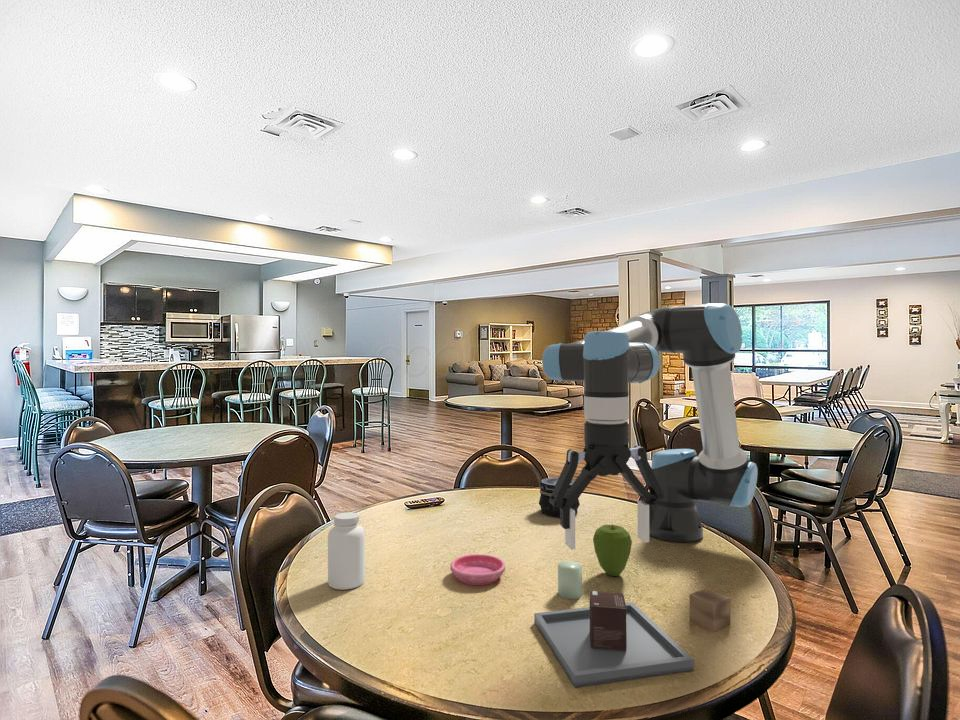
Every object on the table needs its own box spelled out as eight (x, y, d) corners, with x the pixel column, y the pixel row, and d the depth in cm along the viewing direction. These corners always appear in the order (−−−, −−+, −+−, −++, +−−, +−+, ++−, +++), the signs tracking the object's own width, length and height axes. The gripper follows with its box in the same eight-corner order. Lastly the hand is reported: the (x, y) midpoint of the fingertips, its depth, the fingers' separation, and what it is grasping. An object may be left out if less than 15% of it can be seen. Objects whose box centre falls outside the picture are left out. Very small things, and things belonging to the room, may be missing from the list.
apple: (585, 570, 125) (585, 521, 125) (615, 564, 128) (615, 516, 128) (609, 585, 117) (608, 532, 117) (640, 578, 120) (639, 527, 120)
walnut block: (706, 613, 104) (706, 588, 104) (730, 624, 100) (730, 598, 100) (689, 620, 101) (689, 594, 101) (713, 632, 97) (713, 604, 97)
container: (539, 505, 178) (539, 475, 177) (578, 507, 176) (578, 476, 176) (538, 517, 165) (538, 485, 165) (580, 519, 163) (580, 486, 163)
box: (627, 652, 90) (626, 608, 90) (590, 649, 91) (589, 605, 91) (623, 633, 96) (623, 592, 96) (589, 630, 97) (589, 590, 97)
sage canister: (576, 587, 116) (576, 559, 116) (585, 598, 111) (585, 569, 111) (554, 590, 115) (554, 562, 115) (563, 600, 110) (562, 571, 110)
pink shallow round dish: (478, 562, 131) (478, 549, 131) (516, 577, 122) (516, 563, 122) (439, 577, 122) (439, 563, 122) (477, 594, 113) (477, 579, 113)
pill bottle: (371, 578, 122) (371, 511, 121) (352, 593, 114) (351, 522, 114) (341, 573, 124) (340, 508, 124) (320, 588, 117) (319, 519, 116)
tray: (632, 611, 105) (632, 602, 105) (693, 670, 85) (693, 659, 85) (534, 622, 101) (534, 613, 101) (574, 687, 81) (574, 675, 81)
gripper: (660, 415, 99) (661, 530, 99) (530, 420, 94) (531, 541, 94) (684, 420, 92) (685, 544, 92) (544, 426, 86) (545, 558, 87)
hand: (607, 543), depth 93 cm, fingers open, 13 cm apart
